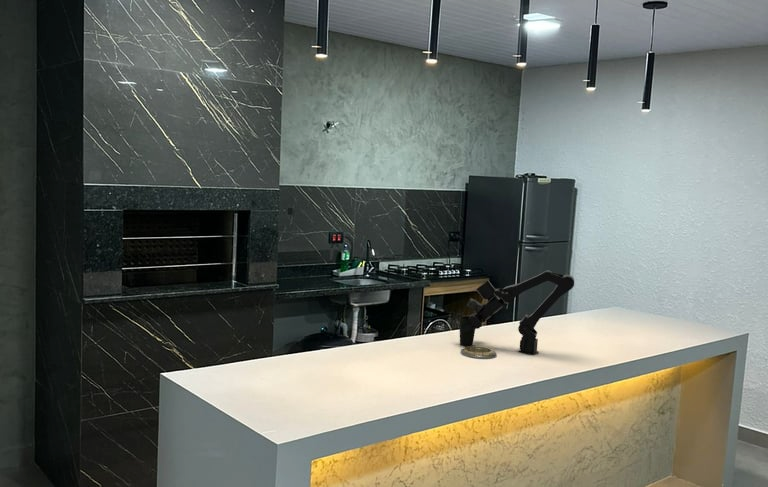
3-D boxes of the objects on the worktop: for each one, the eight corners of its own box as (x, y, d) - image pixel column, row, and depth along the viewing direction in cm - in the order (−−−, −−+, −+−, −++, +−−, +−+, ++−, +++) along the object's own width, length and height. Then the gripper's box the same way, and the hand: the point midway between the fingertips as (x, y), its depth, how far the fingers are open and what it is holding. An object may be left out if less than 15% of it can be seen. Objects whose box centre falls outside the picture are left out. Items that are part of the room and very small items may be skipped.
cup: (469, 348, 297) (471, 320, 296) (454, 344, 302) (456, 317, 301) (478, 345, 303) (480, 318, 302) (463, 341, 308) (465, 315, 307)
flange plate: (503, 354, 289) (503, 350, 289) (485, 361, 277) (485, 356, 277) (472, 347, 298) (472, 343, 298) (453, 353, 286) (454, 348, 286)
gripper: (481, 290, 308) (455, 311, 312) (475, 296, 290) (448, 319, 294) (498, 309, 307) (471, 330, 311) (493, 316, 289) (465, 339, 293)
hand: (464, 329), depth 302 cm, fingers closed on cup, 8 cm apart
